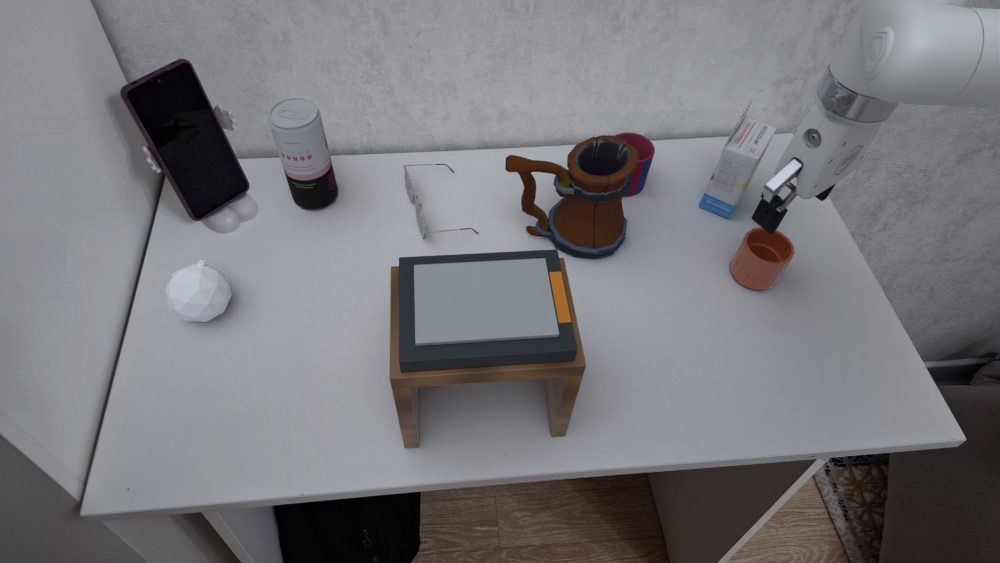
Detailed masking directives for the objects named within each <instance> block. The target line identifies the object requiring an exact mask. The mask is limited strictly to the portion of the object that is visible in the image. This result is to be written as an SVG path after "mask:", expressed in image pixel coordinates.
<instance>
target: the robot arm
mask: <svg viewBox="0 0 1000 563" xmlns="http://www.w3.org/2000/svg"><path fill="white" fill-rule="evenodd" d="M967 2H968V0H862V1H861V3H860V4H859V7H858V9H857V11H856V12H855V14H854V15H853V18H852V20H851V22H850V23H849V26H848V27H847V29H846V31H845V33H844V35H843V37H842V38H841V40H840V42H839V45H838V47H837V48H836V50H835V52H834V54H833V56H832V58H831V59H830V62H829V63H828V65H827V67H826V69H825V71H824V73H823V75H822V77H821V78H820V80H819V82H818V84H817V86H816V87H815V90H814V94H813V96H814V100H815V103H813V105H812V107H811V108H810V110H809V111H808V112H807V114H806V116H805V117H804V118H803V120H802V122H801V124H800V125H799V126H798V128H797V129H796V131H795V133H794V135H792V137H791V139H790V141H789V143H788V145H787V146H786V148H785V149H784V152H783V153H782V155H781V156H780V158H779V161H778V162H777V165H776V167H775V169H774V173H773V176H772V178H771V179H769V180H768V181H767V182H766V183H765V184H764V185H763V187H762V191H761V193H760V200H759V202H758V204H757V206H756V208H755V210H754V212H753V213H752V215H751V219H752V221H753V222H754V223H756V224H757V225H758V226H759V227H762V228H763V229H764V230H766V231H767V232H768V233H770V234H772V233H774V232H775V231H776V230H777V231H778V228H779V226H780V225H781V223H782V222H783V220H784V218H785V216H786V215H787V213H788V212H789V209H788V208H787V207H788V206H790V205H791V203H792V202H793V201H794V200H795V199H796V198H797V196H798V197H800V198H801V199H802V200H810V199H814V197H815V198H816V199H817V200H819V201H822V202H824V201H825V200H826V199H827V198H828V197H829V195H830V194H831V193H832V191H833V190H834V188H835V186H836V185H837V183H840V181H842V180H843V179H845V178H846V177H848V176H849V175H851V174H852V173H853V172H854V171H855V170H856V169H857V167H858V166H859V164H860V163H861V161H862V159H863V158H864V156H865V155H866V153H867V152H868V150H869V148H870V146H871V144H872V143H873V141H874V139H875V138H876V136H877V134H878V133H879V131H880V129H881V127H882V126H883V124H885V123H886V122H887V121H888V120H889V119H890V117H891V116H892V114H893V113H894V111H895V110H896V108H898V106H899V104H902V105H921V106H944V107H945V106H946V107H961V108H962V107H963V108H976V109H977V108H978V109H990V110H1000V8H986V7H985V8H983V7H982V8H981V7H967V6H966V4H967ZM965 6H966V7H965ZM794 178H795V179H796V184H794V183H792V182H791V181H792V180H794ZM784 187H786V188H787V189H789V190H790V192H789V193H788V194H787V195H786V196H785V197H784V198H782V197H781V196H780V192H781V190H782V189H783V188H784Z"/></svg>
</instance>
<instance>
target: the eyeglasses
mask: <svg viewBox="0 0 1000 563" xmlns="http://www.w3.org/2000/svg"><path fill="white" fill-rule="evenodd" d="M417 166H418V167H420V166H446V167H447V168H449V170H450V171H451V172H452V173H453V174H455V171H454V170H453V169H452V167H450V166H449V165H448V164H447V163H419V164H403V165H402V167H403V169H404V170H403V171H404V183H405V190H406V193H407V196H408V199H409V201H410V202H411V203H413V200H414V202H415V203H414V204H415V216H416V217H415V218H416V224H417V227H418V231H419V233H420V236H421V239H423V240H424V239H425V236H426V235H425V234H435V233H443V232H444V233H445V232H453V231H465V230H466V231H467V230H472V231H473V232H474V233H475V234H477V235H478V234H479V232H478V231H477V230H476V229H474V228H472V227H466V228H457V229H443V230H441V229H440V230H426V224H425V220H424V217H423V214H422V209H423V203H422V202H418V197H419V192H414V191H415V190H414V187H413V183H412V181H411V178H410V175H409V171H408V169H407V167H417Z"/></svg>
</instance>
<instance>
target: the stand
mask: <svg viewBox="0 0 1000 563" xmlns="http://www.w3.org/2000/svg"><path fill="white" fill-rule="evenodd" d="M559 261H560V266H561V270H562V275H563V280H564V285H565V290H566V295H567V300H568V305H569V310H570V315H571V320H572V325H573V330H574V335H575V340H576V345H577V349H578V350H577V354H576V358H575V361H568V362H553V363H538V364H524V365H509V366H494V367H479V368H464V369H450V370H435V371H420V372H405V373H401V371H400V366H399V265H396V266H395V265H393V266H391V267H390V298H389V299H390V303H389V305H390V306H389V308H390V310H389V311H390V313H389V314H390V315H389V383H390V387H391V390H392V391H391V392H392V395H393V396H392V397H393V400H394V405H395V410H396V414H397V419H398V424H399V429H400V434H401V438H402V444H403V447H404V449H417V448H420V428H419V426H420V424H419V420H420V419H419V388H425V387H440V386H453V385H456V386H457V385H469V384H483V383H484V384H485V383H497V382H512V381H524V380H527V381H528V380H542V387H543V393H544V400H545V405H546V411H547V412H546V413H547V417H548V418H547V419H548V424H549V431H550V436H551V438H557V437H565V436H566V435H567V431H568V428H569V424H570V420H571V417H572V414H573V410H574V407H575V404H576V401H577V397H578V394H579V391H580V388H581V384H582V381H583V377H584V374H585V371H586V367H587V362H586V358H585V357H586V356H585V353H584V348H583V343H582V339H581V333H580V329H579V328H580V327H579V324H578V320H577V315H576V310H575V304H574V300H573V296H572V290H571V286H570V281H569V276H568V271H567V267H566V262H565V257H559Z"/></svg>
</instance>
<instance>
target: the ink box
mask: <svg viewBox="0 0 1000 563" xmlns="http://www.w3.org/2000/svg"><path fill="white" fill-rule="evenodd" d="M753 101H754V100H753V98H752V99H750V101H749V102H748V104H747V105H746V107H745V108H744V109H743V111H742V113H741V115H740V116H739V117H738V119H737V120H736V122H735V124H734V125H733V127H732V129H731V131H730V133H729V136H728V137H727V139H726V141H725V144H724V146H723V148H722V150H721V153H720V155H719V157H718V159H717V162H716V164H715V167H714V169H713V171H712V174H711V176H710V179H709V181H708V183H707V186H706V188H705V191H704V193H703V195H702V197H701V200H700V202H699V204H698V207H699V208H701V209H704V210H706V211H709V212H711V213H713V214H716V215H718V216H721V217H723V218H725V219H726V220H729V219H730V217H731V216H732V214H733V212H734V210H735V209H736V207H737V205H738V204H739V202H740V200H741V199H742V197H743V196H744V195H745V193H746V191H747V189H748V187H749V185H750V183H751V181H752V178H753V177H754V175H755V173H756V171H757V169H758V167H759V164H760V162H761V161H762V159H763V157H764V156H765V153H766V152H767V149H768V147H769V145H770V143H771V141H772V140H773V137H774V135H775V133H776V131H777V127H775V126H772V125H770V124H766V123H765V122H762V121H759V120H757V119H754V118H752V117H749V116H747V114H748V111H749V109H750V107H751V105H752V103H753Z"/></svg>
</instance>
